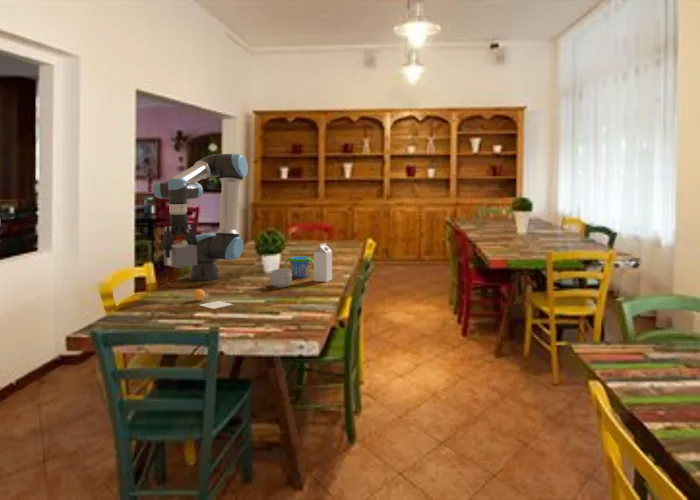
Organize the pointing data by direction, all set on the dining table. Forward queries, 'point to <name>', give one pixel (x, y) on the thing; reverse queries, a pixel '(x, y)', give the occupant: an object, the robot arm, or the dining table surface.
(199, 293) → the ball
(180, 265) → the grey block
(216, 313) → the dining table surface
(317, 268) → the milk carton
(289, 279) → the teacup
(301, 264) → the snack cup
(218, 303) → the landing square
